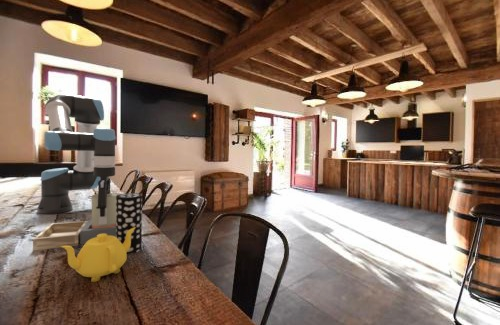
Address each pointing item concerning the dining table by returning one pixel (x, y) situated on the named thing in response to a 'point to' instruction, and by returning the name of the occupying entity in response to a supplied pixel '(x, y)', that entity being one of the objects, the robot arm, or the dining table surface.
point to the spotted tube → (129, 219)
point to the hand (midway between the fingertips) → (104, 220)
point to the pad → (104, 226)
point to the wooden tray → (59, 235)
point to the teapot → (100, 256)
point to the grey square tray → (94, 232)
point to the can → (110, 210)
